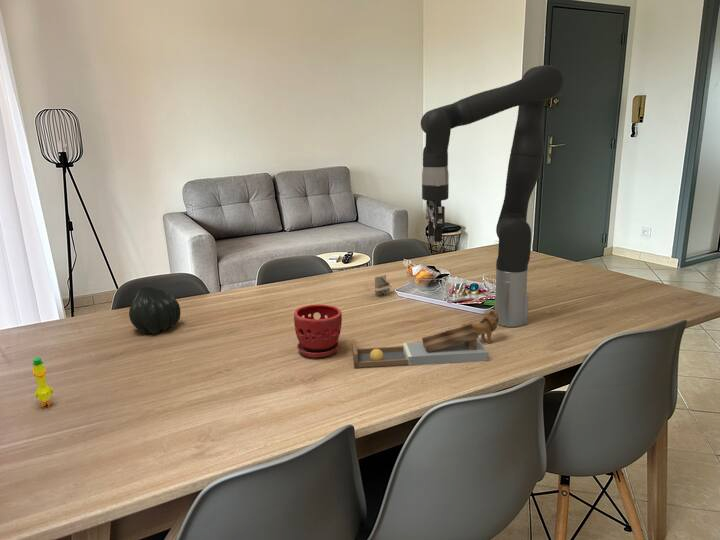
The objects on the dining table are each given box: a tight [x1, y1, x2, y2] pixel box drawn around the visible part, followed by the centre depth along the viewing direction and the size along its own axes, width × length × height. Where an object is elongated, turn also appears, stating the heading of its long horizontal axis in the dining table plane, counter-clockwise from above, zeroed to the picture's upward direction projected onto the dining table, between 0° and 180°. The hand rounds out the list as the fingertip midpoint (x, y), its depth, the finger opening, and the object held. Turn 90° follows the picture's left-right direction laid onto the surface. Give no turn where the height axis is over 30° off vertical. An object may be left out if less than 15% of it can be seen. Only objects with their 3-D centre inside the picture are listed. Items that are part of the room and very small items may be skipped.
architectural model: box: [372, 274, 393, 297], centre depth 199 cm, size 3×7×7 cm, turn 130°
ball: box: [370, 349, 383, 361], centre depth 143 cm, size 4×4×4 cm
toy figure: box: [32, 357, 54, 407], centre depth 126 cm, size 7×4×12 cm, turn 38°
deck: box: [402, 338, 488, 366], centre depth 146 cm, size 21×9×2 cm, turn 94°
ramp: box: [421, 324, 480, 353], centre depth 145 cm, size 14×6×5 cm, turn 94°
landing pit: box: [351, 340, 409, 370], centre depth 145 cm, size 14×9×4 cm, turn 94°
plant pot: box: [293, 304, 343, 358], centre depth 151 cm, size 13×13×12 cm
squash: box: [128, 286, 181, 334], centre depth 172 cm, size 14×15×15 cm
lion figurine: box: [460, 308, 499, 344], centre depth 153 cm, size 15×5×9 cm, turn 117°
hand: (435, 238), depth 159 cm, fingers open, 8 cm apart
